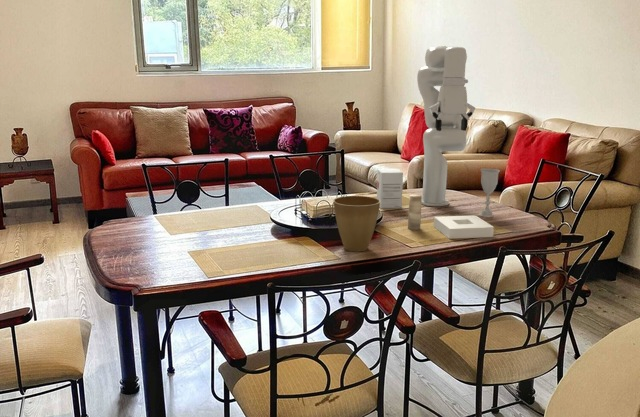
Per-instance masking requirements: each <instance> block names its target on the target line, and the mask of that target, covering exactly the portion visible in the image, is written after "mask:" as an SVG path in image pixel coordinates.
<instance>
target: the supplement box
mask: <svg viewBox="0 0 640 417" xmlns="http://www.w3.org/2000/svg"><path fill="white" fill-rule="evenodd" d="M376 180H377V181H376V198H377V199H379V200H380V207H379V209H402V207H403V206H402V205H403V202H402V201H403V186H404V185H403V182H404V172H402V170H400V169H399V168H377V179H376Z"/></svg>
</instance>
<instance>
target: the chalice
mask: <svg viewBox="0 0 640 417" xmlns="http://www.w3.org/2000/svg"><path fill="white" fill-rule="evenodd" d="M500 171H501V170H500V169H498V168H486V167H485V168H480V172H481V176H480V177H481V178H480V184H481V187H482V190H483V192H484V194H486V197H485V200H486V202H485V208H484V209H482V211H481V212H480V213H479V216H480V217H484V218H492V217H494V214H493V210H491V209H490V208H489V205H491V203H490V200H491V198H490V195H492V194H493V193H494V191H495V190H496V188H497V185H498V182H499V181H498V180H499V173H500Z"/></svg>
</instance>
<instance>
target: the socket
mask: <svg viewBox="0 0 640 417" xmlns="http://www.w3.org/2000/svg"><path fill="white" fill-rule="evenodd" d="M433 227H434V229H435V228H436V230H437V231H439V232H440V233H441V234H443V235H444V236H445V237H446V238H448V239H449V240H453V239H470V238H471V239H472V238H473V239H475V238H477V239H478V238H494V231H495V227H494V226H493V225H491V224H490V223H489V222H486V221H485V220H483V219H482V218H480V217H478V216H477V215H474V214H473V215H450V216H448V215H447V216H444V215H443V216H433Z"/></svg>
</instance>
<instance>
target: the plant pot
mask: <svg viewBox="0 0 640 417" xmlns="http://www.w3.org/2000/svg"><path fill="white" fill-rule="evenodd" d="M333 208H334V209H333V210H334V214H335V220H336V224H337V229H338V233H339V236H340V239H341V242H342V245H343V247H344V250H346V251H349V252H365V251H367V250H368V248H369V245H370V243H371V240H372V238H373V235H374V232H375V228H376V225H377V221H378V218H379V217H378V216H379V211H380V200H379V199H377V197H372V196H365V195H343V196H339V197H336V198H333Z"/></svg>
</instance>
